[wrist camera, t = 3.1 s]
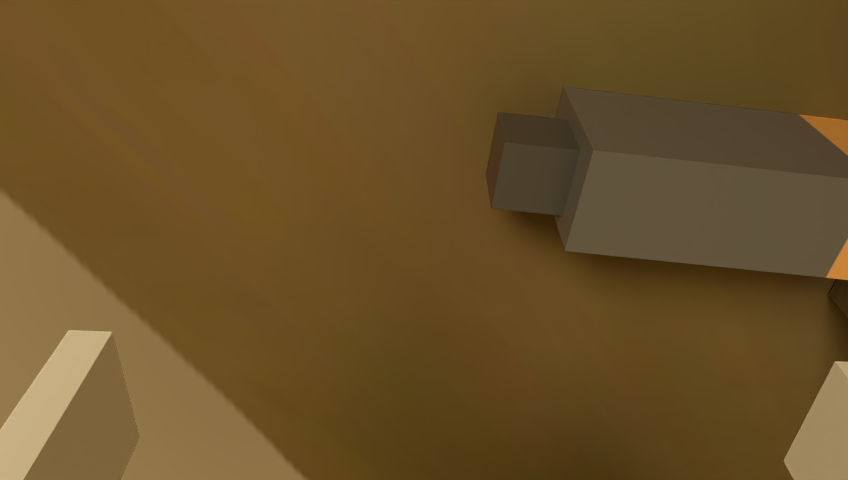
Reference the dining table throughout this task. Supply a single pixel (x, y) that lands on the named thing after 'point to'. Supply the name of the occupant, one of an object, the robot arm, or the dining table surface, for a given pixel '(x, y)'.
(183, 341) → the dining table surface
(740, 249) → the plug
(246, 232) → the dining table surface
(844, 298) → the block
